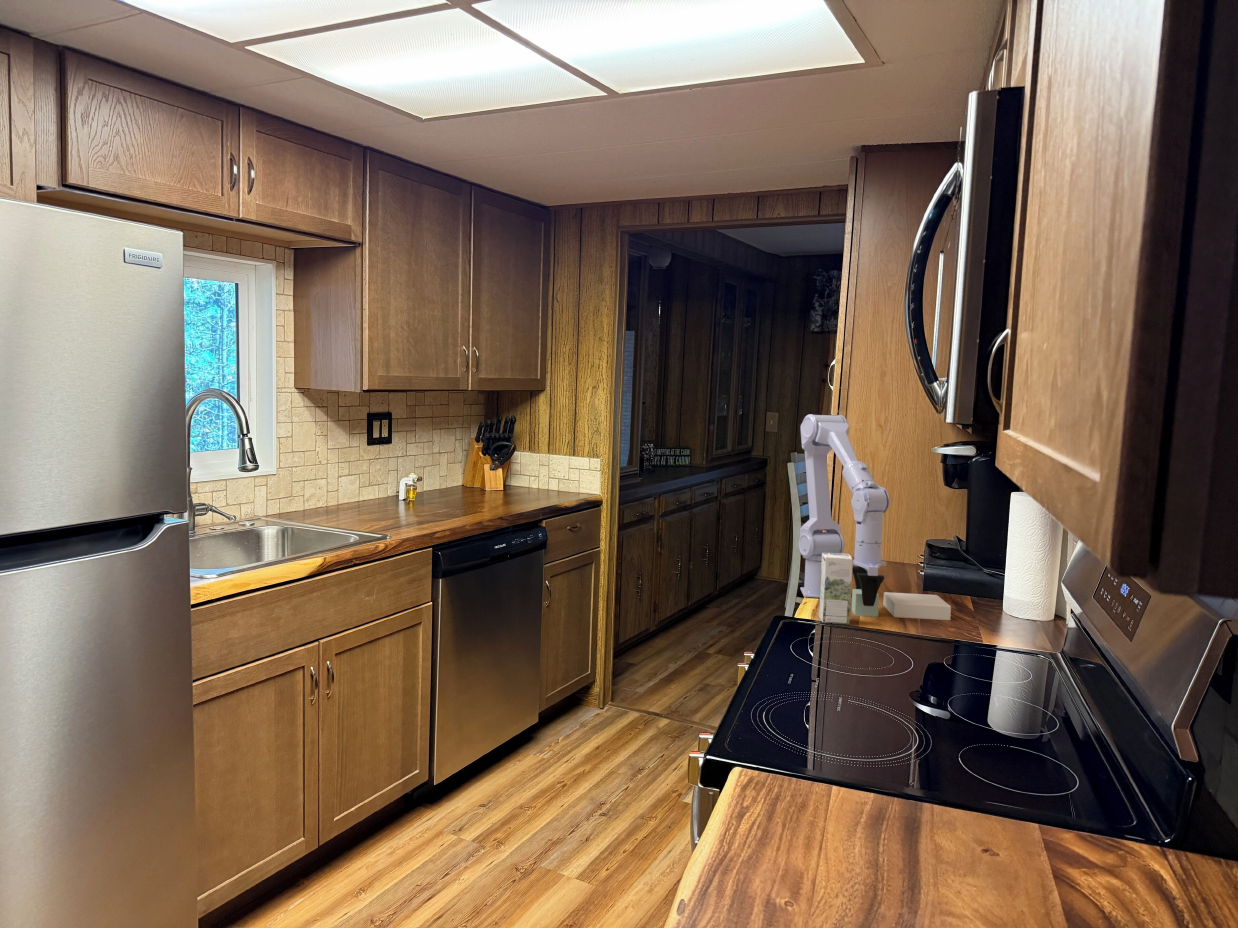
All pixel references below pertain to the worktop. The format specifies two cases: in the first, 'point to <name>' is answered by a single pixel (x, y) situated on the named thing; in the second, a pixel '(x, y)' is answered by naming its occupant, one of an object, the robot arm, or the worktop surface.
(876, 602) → the green cube
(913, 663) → the worktop surface
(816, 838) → the worktop surface
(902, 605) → the base block
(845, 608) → the syrup box
